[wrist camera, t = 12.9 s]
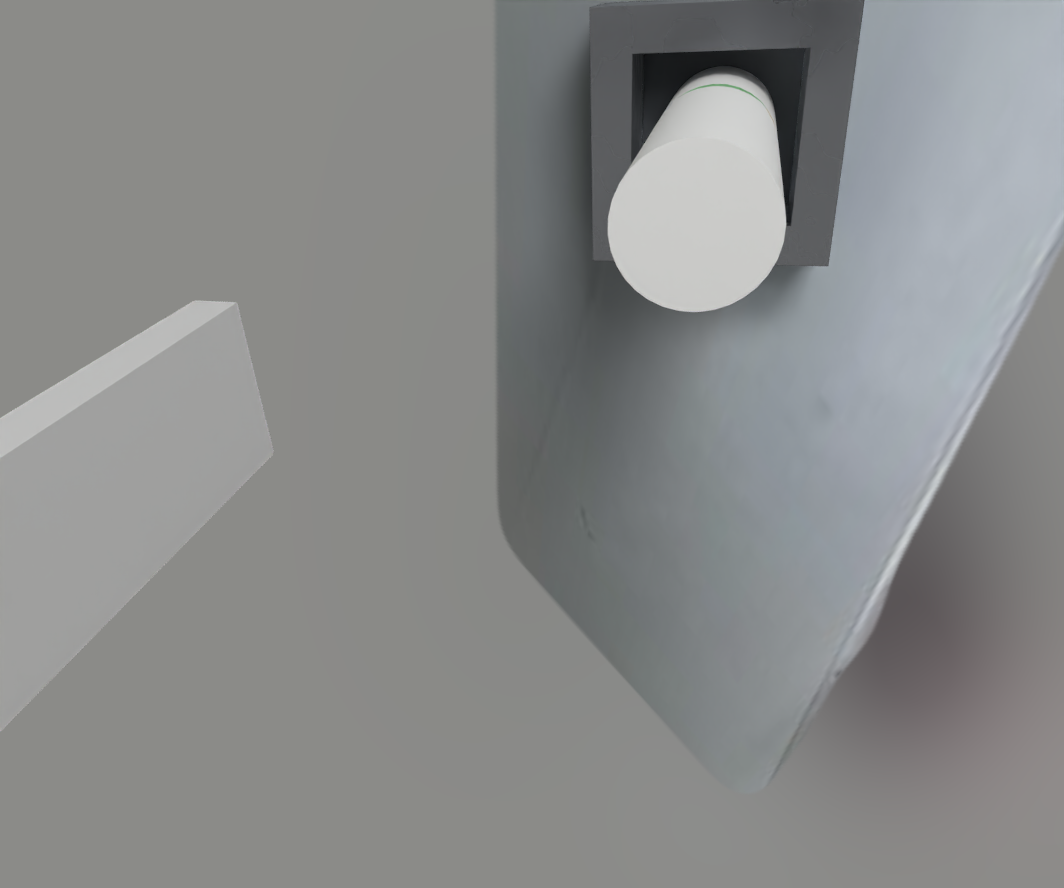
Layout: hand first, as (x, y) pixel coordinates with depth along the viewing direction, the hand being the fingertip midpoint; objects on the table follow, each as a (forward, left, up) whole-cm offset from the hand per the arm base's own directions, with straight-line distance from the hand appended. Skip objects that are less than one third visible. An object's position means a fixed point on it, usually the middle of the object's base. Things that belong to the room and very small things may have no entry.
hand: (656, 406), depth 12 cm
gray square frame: (0, 0, -25) cm, 25 cm away
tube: (0, 0, -25) cm, 25 cm away
